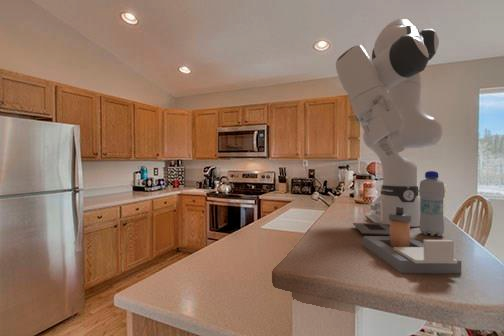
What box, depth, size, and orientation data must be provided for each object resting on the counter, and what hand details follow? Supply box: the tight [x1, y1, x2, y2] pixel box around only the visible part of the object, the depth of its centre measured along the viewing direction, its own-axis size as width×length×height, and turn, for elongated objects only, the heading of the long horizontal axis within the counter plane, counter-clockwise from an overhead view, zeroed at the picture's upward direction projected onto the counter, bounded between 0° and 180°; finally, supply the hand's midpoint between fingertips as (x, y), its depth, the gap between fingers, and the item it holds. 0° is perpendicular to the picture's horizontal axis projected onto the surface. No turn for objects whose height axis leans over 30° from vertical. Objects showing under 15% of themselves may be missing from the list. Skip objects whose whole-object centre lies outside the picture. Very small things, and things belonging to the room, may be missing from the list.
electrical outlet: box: [352, 222, 390, 236], centre depth 81 cm, size 13×10×2 cm
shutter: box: [394, 239, 457, 263], centre depth 52 cm, size 9×8×5 cm
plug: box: [389, 207, 411, 249], centre depth 61 cm, size 5×5×12 cm
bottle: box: [418, 170, 446, 237], centre depth 79 cm, size 7×7×20 cm
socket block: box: [362, 235, 462, 274], centre depth 59 cm, size 18×12×2 cm, turn 179°
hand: (394, 154), depth 63 cm, fingers open, 8 cm apart
